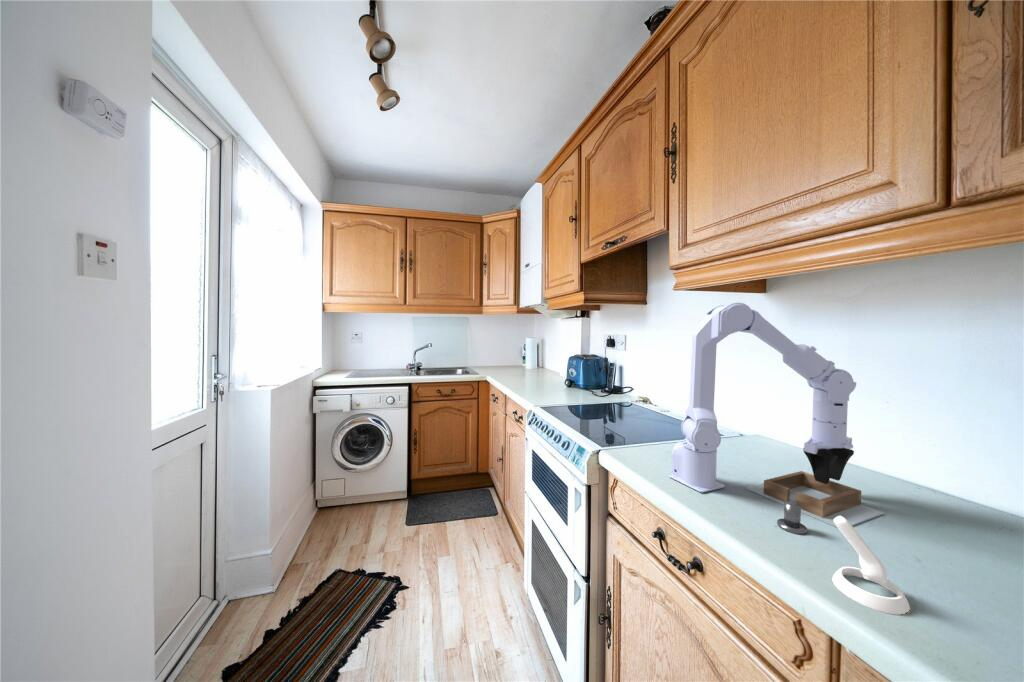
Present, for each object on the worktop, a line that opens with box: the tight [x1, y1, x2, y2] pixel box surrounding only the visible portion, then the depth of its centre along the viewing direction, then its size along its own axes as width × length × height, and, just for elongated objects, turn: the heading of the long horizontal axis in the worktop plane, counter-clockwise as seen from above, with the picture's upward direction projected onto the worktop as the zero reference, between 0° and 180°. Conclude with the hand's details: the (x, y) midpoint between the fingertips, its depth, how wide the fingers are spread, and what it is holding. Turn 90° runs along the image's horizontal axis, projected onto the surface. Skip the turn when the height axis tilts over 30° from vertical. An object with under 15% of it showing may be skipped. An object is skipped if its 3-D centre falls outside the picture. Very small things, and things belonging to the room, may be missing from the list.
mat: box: [745, 482, 885, 529], centre depth 75 cm, size 18×15×1 cm
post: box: [776, 501, 808, 535], centre depth 65 cm, size 4×4×4 cm
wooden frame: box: [763, 470, 862, 518], centre depth 75 cm, size 11×14×3 cm
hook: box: [831, 516, 911, 616], centre depth 50 cm, size 8×12×7 cm
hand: (827, 480), depth 78 cm, fingers open, 4 cm apart
